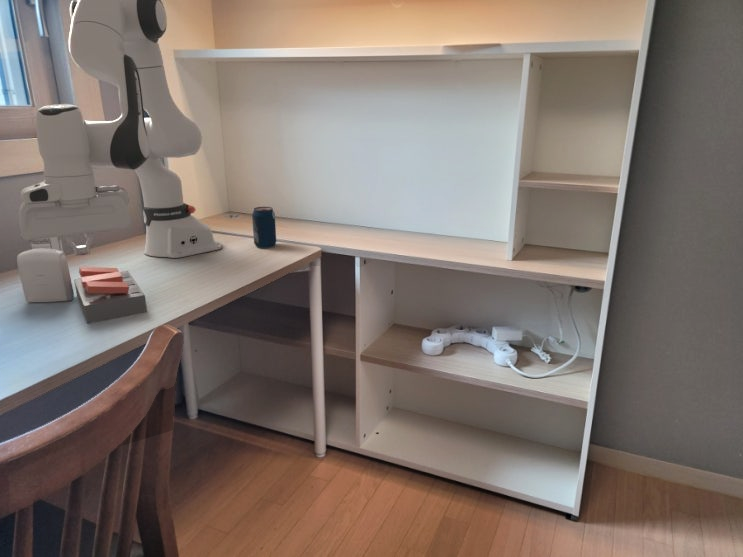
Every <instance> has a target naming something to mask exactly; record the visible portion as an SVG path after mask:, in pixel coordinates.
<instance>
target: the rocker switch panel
mask: <svg viewBox="0 0 743 557" xmlns="http://www.w3.org/2000/svg"><path fill="white" fill-rule="evenodd" d="M119 272H120V274H121V275H122V280H123V282H126V283H127V285H128V286H129V292H128V293H88V292H87V290H86V288H84V287H83V285H82V282H81V277H78V278H77V277H76V278H73V281H74V287H75V292H76V296H77V299H78V303H79V304H80V307H81V310H82V313H83V316H84V319H85V321H86V324H92V323H96V322H102V321H106V320H107V321H108V320H112V319H117V318H123V317H128V316H133V315H138V314H139V315H140V314H144V313H148V308H147V302H146V301H147V300H146V295H145V293H144V292H143V290H142V289H141V288H140V286H139V284H138V282H137V281H136V280H135V279H134V277H133V276H132V274H131V273H130V272H129V270H124V271H119Z"/></svg>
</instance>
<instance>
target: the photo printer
mask: <svg viewBox="0 0 743 557" xmlns="http://www.w3.org/2000/svg"><path fill="white" fill-rule="evenodd" d="M16 263H17V268H18V272H19V277H20V281H21V286H22V289H23V293H24V294H23V295H24V299H25V302H26V303H46V302H47V303H48V302H49V303H51V302H54V303H55V302H68V301H71V300H73V299H74V298H75V293H74V289H73V282H72V278H71V274H70V272H71V271H70V268H69V263H68V258H67V255H66V253H65V252H64V251H63V252H62V251H59V250H54V249H45V248H41V249H32V250H31V249H28V250H25V251H23V252H21V253H19V254H17V257H16Z"/></svg>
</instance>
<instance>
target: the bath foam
mask: <svg viewBox="0 0 743 557" xmlns="http://www.w3.org/2000/svg"><path fill="white" fill-rule="evenodd" d="M28 242H29V243H28V244H29V248H30V250H32V249H41V248H45V249H54V250H59V251H62V252H64V249H63V244H62V236H60V237H51V238H42V239H32V240H28Z"/></svg>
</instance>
